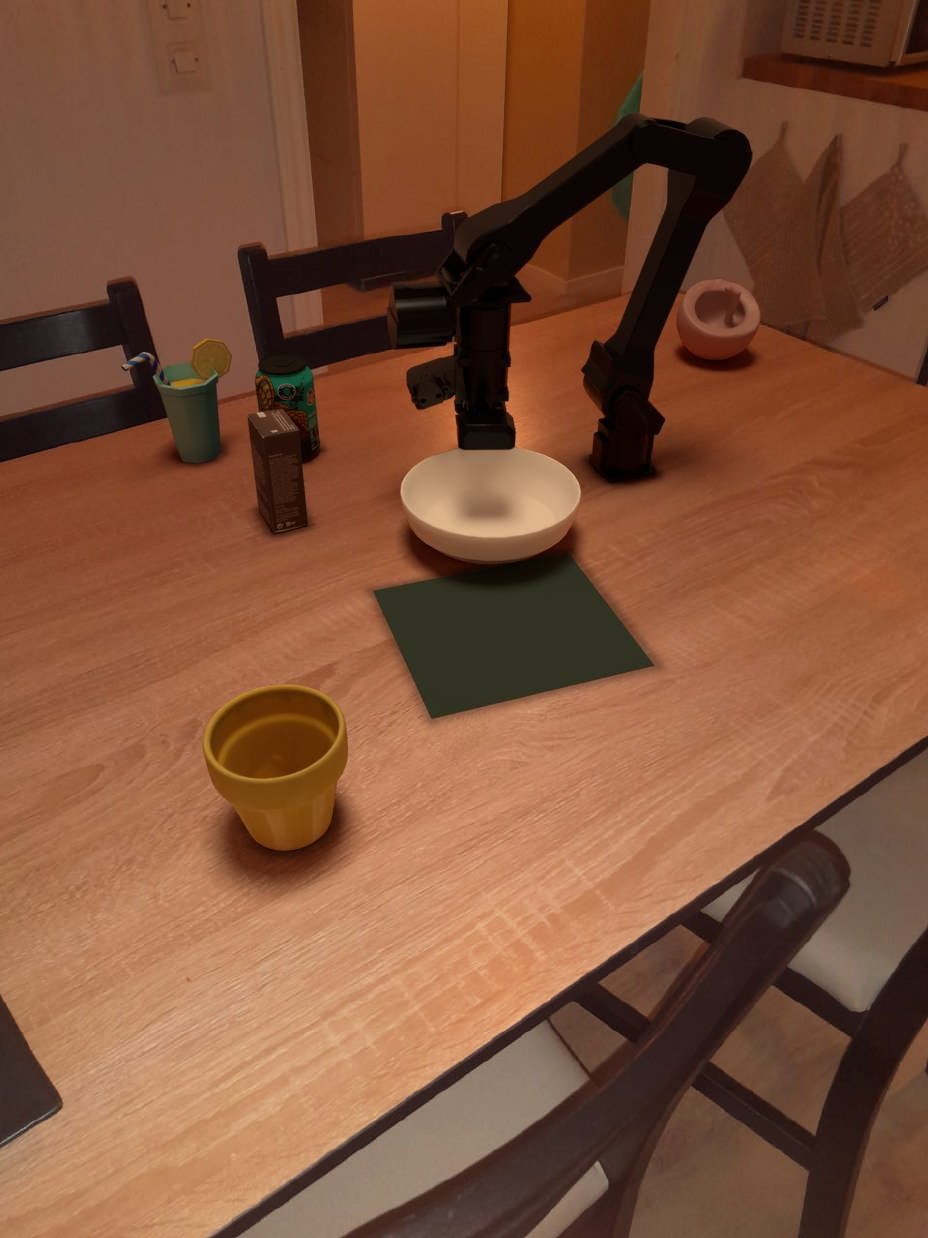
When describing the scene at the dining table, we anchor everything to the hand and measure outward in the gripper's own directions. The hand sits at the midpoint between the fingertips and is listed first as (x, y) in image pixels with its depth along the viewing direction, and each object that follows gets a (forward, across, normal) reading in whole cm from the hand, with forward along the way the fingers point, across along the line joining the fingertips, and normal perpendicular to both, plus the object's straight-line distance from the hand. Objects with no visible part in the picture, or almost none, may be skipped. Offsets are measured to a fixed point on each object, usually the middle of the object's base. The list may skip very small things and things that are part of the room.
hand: (479, 464), depth 116 cm
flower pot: (+2, +51, -18) cm, 55 cm away
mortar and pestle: (+3, -36, +38) cm, 52 cm away
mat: (+2, +28, +1) cm, 28 cm away
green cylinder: (+3, -9, -23) cm, 25 cm away
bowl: (+2, +12, 0) cm, 12 cm away
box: (+3, +7, -23) cm, 24 cm away
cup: (+4, -8, -35) cm, 37 cm away
